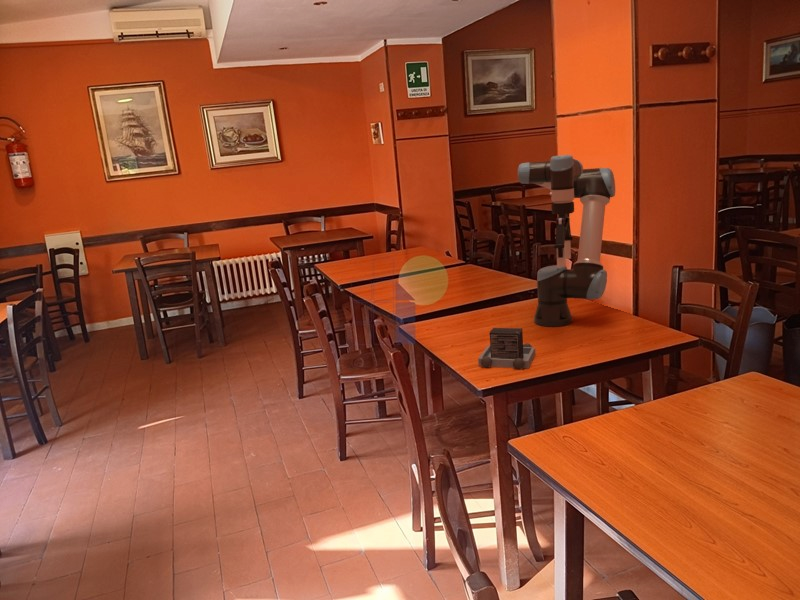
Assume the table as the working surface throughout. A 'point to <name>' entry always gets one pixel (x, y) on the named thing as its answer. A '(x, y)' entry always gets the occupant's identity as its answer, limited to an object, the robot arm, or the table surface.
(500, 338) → the small box
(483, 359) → the chassis bay
